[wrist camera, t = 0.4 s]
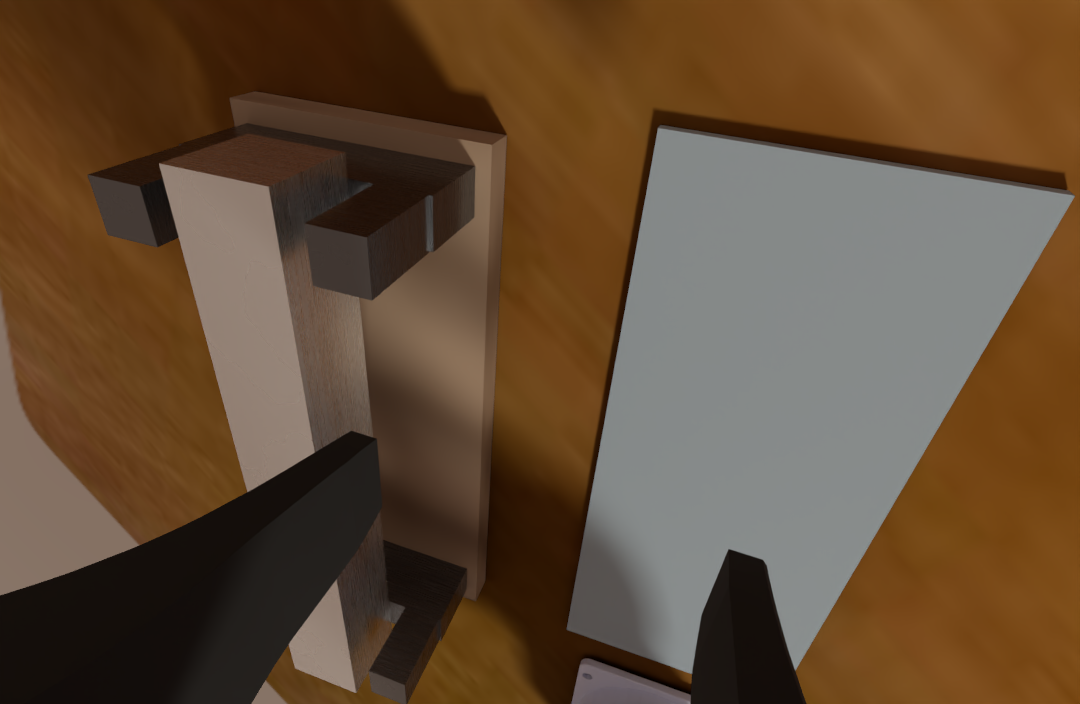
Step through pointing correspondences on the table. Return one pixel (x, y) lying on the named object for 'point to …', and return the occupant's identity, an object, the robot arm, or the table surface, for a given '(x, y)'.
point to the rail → (283, 351)
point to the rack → (392, 329)
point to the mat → (784, 371)
